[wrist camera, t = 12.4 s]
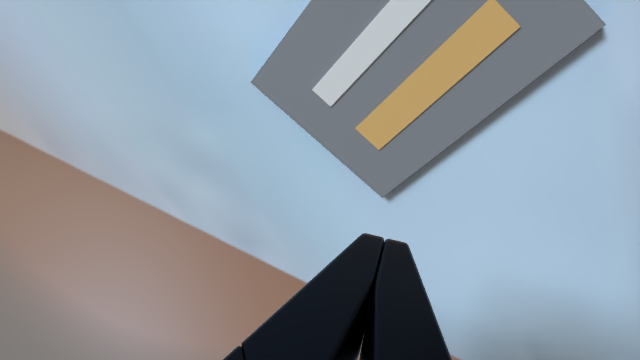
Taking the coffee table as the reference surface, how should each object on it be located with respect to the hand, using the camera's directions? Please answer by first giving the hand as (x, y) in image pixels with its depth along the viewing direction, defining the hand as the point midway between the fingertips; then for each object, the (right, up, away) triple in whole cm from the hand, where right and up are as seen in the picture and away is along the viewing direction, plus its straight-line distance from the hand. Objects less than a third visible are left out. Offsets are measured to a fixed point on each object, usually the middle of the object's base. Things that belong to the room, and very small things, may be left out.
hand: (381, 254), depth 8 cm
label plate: (+3, +7, +11) cm, 13 cm away
